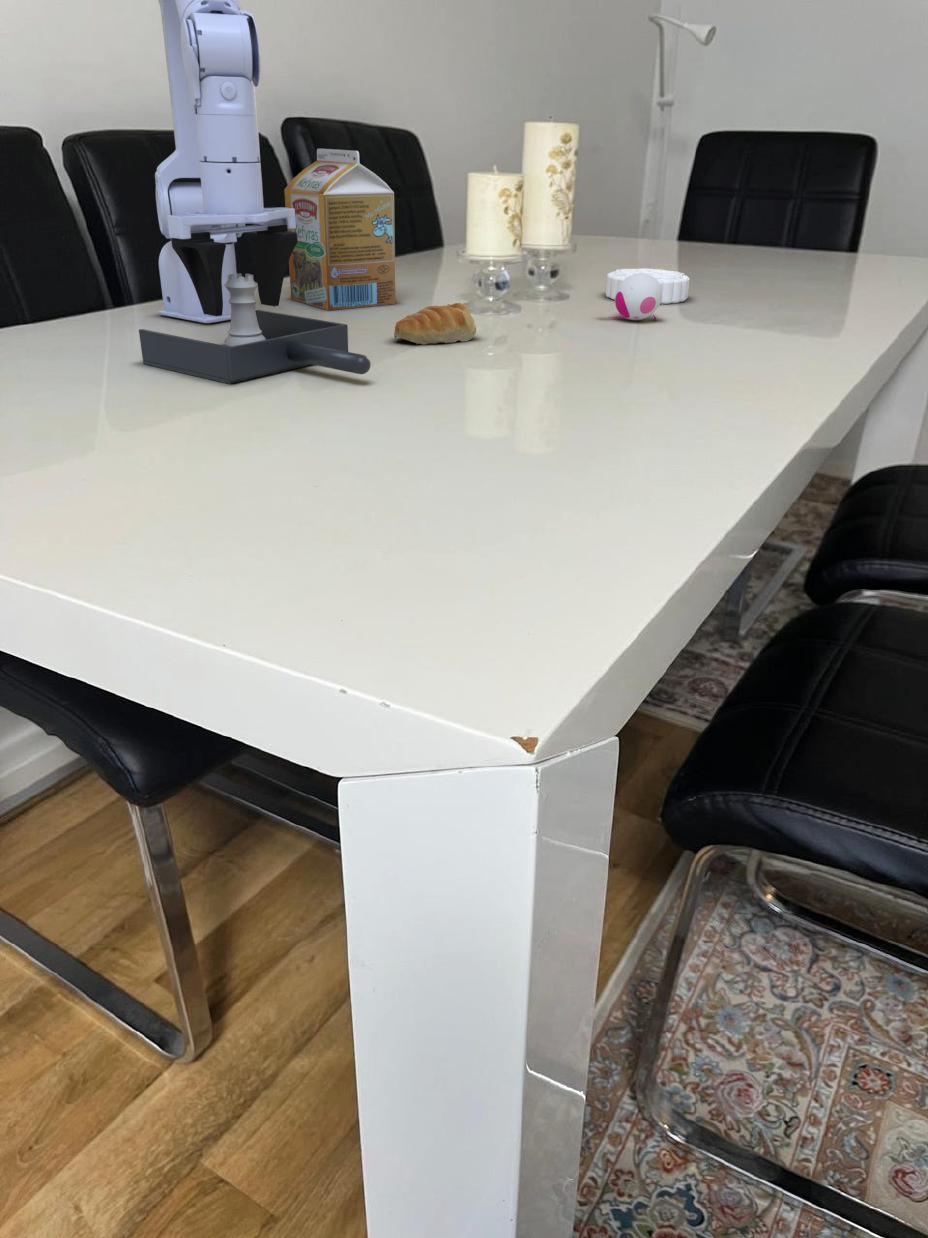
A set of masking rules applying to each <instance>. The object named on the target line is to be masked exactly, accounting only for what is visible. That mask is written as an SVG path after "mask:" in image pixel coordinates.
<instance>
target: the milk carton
mask: <svg viewBox="0 0 928 1238" xmlns="http://www.w3.org/2000/svg"><path fill="white" fill-rule="evenodd" d="M283 190H284V203H285V204H284V205H285V208H293V209H295V222H296V229H288V231H290V232H296V233H297V239H298V242H297V244H296V246H295V248H294V250H293V252H292V254H291V256H290V259H289V261H288V269H289V285H290V299H291V300H292V301H296V302H298V303H303V304H304V305H305V304H306V305H310V306H312V307H316V308H319V309H322V310H325V311H327V312H328V311H337V310H348V309H349V310H350V309H359V308H369V307H378V306H387V305H390V306H391V305H396V247H395V246H396V243H395V242H396V241H395V240H396V239H395V235H396V233H395V230H396V229H395V192H394V190H392V188H390V186H389V185H388V184H387V182H385V181H384V180H383V179H382V178H381V177H380V176H378V175H377V174H376V173H375V172H374V171H371V170H370V169H369V168H367V167H366V166H364V165H363V164H361V163H360V152H359V151H358V150H350V149H349V150H347V149H333V148H317V149H316V160H315V161H314V162H312V163H311V164H310V165H308V166H306V167H305V168H304V169H302V171H300V172H299V173H298V174H297V175H295V176H294V177H293V178H292V179H291V180H290V182H289V183H288V184H287V186H286V187H285V188H284V189H283Z"/></svg>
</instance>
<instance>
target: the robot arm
mask: <svg viewBox="0 0 928 1238" xmlns="http://www.w3.org/2000/svg"><path fill="white" fill-rule="evenodd" d="M157 1H158V5H159V9H160V15H161V25H162V34H163V42H164V43H163V44H164V50H165V51H164V52H165V60H166V62H165V63H166V71H167V78H168V79H167V81H168V88H169V99H170V107H171V117H172V126H173V136H174V145H175V150H174V151H173V152H172V153H171V154H170V155H169V156H168V157H167V158H165V159H164V160H163V161H161V163H159V165H158V166H157V167H156V171H155V173H154V181H155V202H156V203H155V204H156V212H157V219H158V225H159V230H160V232H161V235H163V236H164V237H165V238H166V239H170V241H168V242H166V243H165V244H163V247H162V248H161V250H160V253H159V256H158V270H159V278H160V279H159V280H160V288H161V295H162V302H163V303H162V304H163V309H161V310H158V315H160V316H165V317H171V318H176V319H182V320H186V321H191V322H198V323H201V324H212V323H219V322H225V321H231V304H230V303H229V302H228V300H229V299H230V292H229V291H228V290H227V288H226V287H225V284H226V282H227V280H228V276H227V275H229V274H234V276H235V278H237V274H238V272H237V261H236V251H235V250H236V249H235V243H237V242H238V238H241V237H242V235H243V234H244V233H246V234H245V238H246V239H247V242H248V245H249V249H250V251H251V254H252V258H253V259H252V260H253V263H254V267H255V273H256V284H257V285H258V286H257V293H258V298H259V302H260V305H263V306H269V307H279V306H280V300H281V295H282V288H283V284H284V279H285V274H286V270H287V267H288V265H289V259H290V256H291V254H292V252H293V250H294V248H295V246H296V244H297V242H298V239H297V233H296V232H290V231H288V229H296V222H295V209H293V208H286V207H284V206H283V207H264V194H263V192H264V191H263V178H262V165H261V152H260V137H259V135H260V134H259V123H258V122H259V121H258V108H257V105H258V104H257V91H256V88H257V87H259V84H260V79H261V69H262V68H261V67H262V54H261V41H260V36H259V32H258V27H257V23H256V19H255V16H254V14H253V13H252V12H248V11H247V10H242V8H241V5H240V2H239V0H157ZM178 179H200V182H177V181H175V182H173V181H174V180H178ZM246 224H248V225H246ZM249 224H250V225H249Z"/></svg>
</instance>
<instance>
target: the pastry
mask: <svg viewBox="0 0 928 1238" xmlns="http://www.w3.org/2000/svg"><path fill="white" fill-rule="evenodd" d="M476 333H477V326H476V323H475V319H474V318H473V316H472V315H471V310H470V308H469V307H468V306H467V305H465V304H464V303H461V302H455V303H452V304H450V303H448V304H447V305H429V306H427V307H424V308H421V309H420V310H417V312H415V313H412V314H408V315H406V316H405V317H404V318H402V319H401V320H398V321H397V322H396V323H395V325H394V333H393V336H394V338H395V339H396V338H399V339H403V340H405V341H408V342H411V343H415V344H416V345H417V346H418V344H420V345H422V346H423V345H424V346H425V345H427V344H439V343H445V344H449V343H456V342H457V341H460V342H468V341H470V340H472V339H474V336H475V335H476Z"/></svg>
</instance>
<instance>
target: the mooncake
mask: <svg viewBox="0 0 928 1238" xmlns="http://www.w3.org/2000/svg"><path fill="white" fill-rule="evenodd" d="M637 273H645V274H649V275H651V276H653V277H654V278H655V279H656V280H657V281H658V282H659V284H660V286H661V289H662V299H661V302H660V305H670V304H679V303H683V302H685V301H686V300H688V299H689V290H690V284H691V283H690V281H691V278H690V277H689V276H688V275H685V273H684V272H680V271H676V270H667V269H661V268H647V267H643V268H621V269H615V271H610V272H609V273H607V275H606V282H605V296H606V298H608V299H611V300H614V301H615V294H616V290H617V288H618V286H619V285H620V284H621V282H622V281H623V280H624V279H626V278H627V277H629V276H631V275H633V274H637Z"/></svg>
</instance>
